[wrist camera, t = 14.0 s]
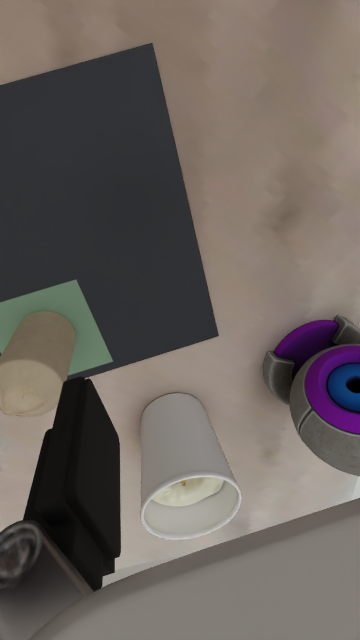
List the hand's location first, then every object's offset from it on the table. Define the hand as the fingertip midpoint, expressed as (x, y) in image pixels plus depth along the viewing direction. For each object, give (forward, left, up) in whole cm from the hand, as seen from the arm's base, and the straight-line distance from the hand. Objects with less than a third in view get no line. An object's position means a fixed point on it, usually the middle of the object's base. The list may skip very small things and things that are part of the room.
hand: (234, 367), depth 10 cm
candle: (+6, -14, -21) cm, 26 cm away
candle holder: (+23, -5, -21) cm, 32 cm away
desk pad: (0, -8, -21) cm, 23 cm away
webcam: (+21, +14, -21) cm, 33 cm away
